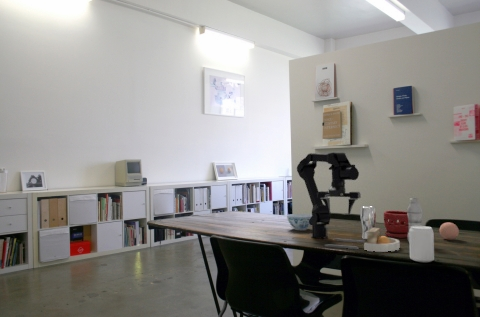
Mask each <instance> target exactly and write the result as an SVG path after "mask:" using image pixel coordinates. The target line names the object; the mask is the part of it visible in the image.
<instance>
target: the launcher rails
mask: <svg viewBox="0 0 480 317" xmlns="http://www.w3.org/2000/svg"><path fill="white" fill-rule="evenodd" d="M333 239H334V240H333V242H346V243H357V244H359V243H360V244H364V243H367V240H365V239H361V240H360V239H351V238H350V239H348V238H333ZM324 247H325V248H335V249H336V248H338V249H346V248H348V249H349V250H357V249H358V250H359V247H358V246H356V245H354V246H353V245H345V244H344V245H342V244H330V243H329V244H328V243H324ZM348 249H347V250H348Z"/></svg>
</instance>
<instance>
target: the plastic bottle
mask: <svg viewBox="0 0 480 317" xmlns="http://www.w3.org/2000/svg"><path fill="white" fill-rule="evenodd" d="M406 212H407V215H408V222H409V223H408V224H409V226H408V235H407V237H406V238H407V241H408V242H409V230H410V228H411V226H422V218H423V209H422V207H421V205H420V201H419V197H414V198H413V197H410V198H409V205H408V207H407V209H406Z"/></svg>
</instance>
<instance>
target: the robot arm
mask: <svg viewBox="0 0 480 317" xmlns="http://www.w3.org/2000/svg"><path fill="white" fill-rule="evenodd" d="M317 162H322V163H327V164H329V165H331V166H329V168H328V170H330V171H331V185H330V187H329V188H328V190H321V191H319V189H318V186H317V183H316V181H315V174H316V171H315V169H316V168H317V164H318V163H317ZM296 172H297V174H298V175H299V177H300V178H301V179H302V180H303V181H304V184H305V187H306V189H307V192H308V196H309V198H310V202H311V205H312V210H311V215H312V217H311V218H310V220H309V224H310V226H311V231H312V232H311V233H312V235H311V236H310V237H311V239H312V238H313V239H326V238H328V237H329V236H328V227H327V226H328V225H330V222H331V218H332V216H331V215H332V214H331V213H332V212H331V203H330V202H331V200H330V197H331V198H332V197H334V198H335V197H336V198H338V197H339V198H349V199H347V200H348V209H347V211H348V212H347V214H348V215H351V212H352V209H353V206H354V204H355V202H356V201H357V200H358V199H361V197H362V196H361V194H362V193H361V192H360V191H350V192H346V181H355V180H357V179H358V178H359V175H360V172H359V170H358V168H357V167H356V164H351V162H350V160H349V159H348V157H347V155H346V153H345V152H328V153H326V154H325V153H315V152H313V153H312V152H310V153H308V154H307V155H306V156H305V157H304V158H303V159H301V160H300V162H299V163H298V164H297V167H296ZM323 202H324V203H323Z"/></svg>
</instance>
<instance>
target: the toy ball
mask: <svg viewBox="0 0 480 317" xmlns="http://www.w3.org/2000/svg"><path fill="white" fill-rule="evenodd" d="M439 234H440V236H441V237H442V238H444V239H446V240H448V241H449V240H450V241H451V240H452V241H453V240H454V239H456V238H457V237H458V235H460V230H459V228H458V226H457V225H456V224H454V223H453V222H444V223H442V224H441V225H440V227H439Z"/></svg>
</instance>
